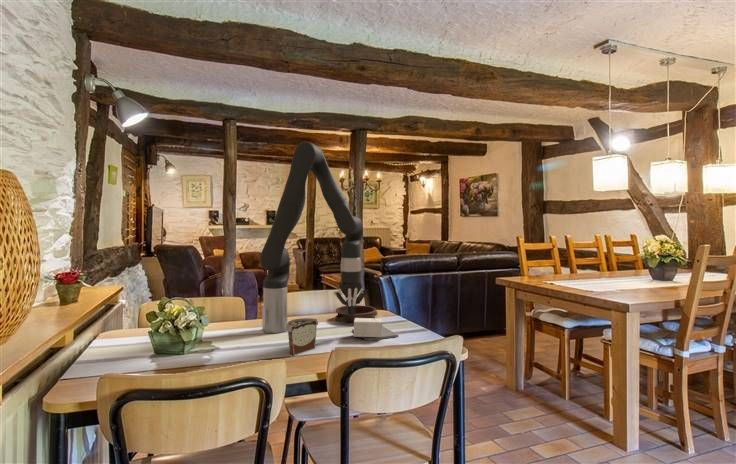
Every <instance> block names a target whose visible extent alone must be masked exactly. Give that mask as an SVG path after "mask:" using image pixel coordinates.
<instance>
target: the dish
mask: <svg viewBox="0 0 736 464" xmlns="http://www.w3.org/2000/svg"><path fill="white" fill-rule="evenodd" d="M335 312H336V314H337V315H335V317H334V321H335V322H339V323H340V322H341V323H342V322H344V323H350V324H354V320H355V318H374V317H375V316H378V311H377V308H376V307H374V306H371V305H370V306H369V305H361V304H360V305H359V304H357V305H355V314H354V316H348V314H347V306H346V305H343V306H340V307H337V308H336V309H335Z"/></svg>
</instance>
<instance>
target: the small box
mask: <svg viewBox="0 0 736 464" xmlns="http://www.w3.org/2000/svg"><path fill="white" fill-rule="evenodd" d="M382 326H383V319H382V318H377V317H376V318H374V317H373V318H355V320H354V323H353V329H354V332H353V337H354V338H355V337H357V338H358V337H359V338H362V337H382Z"/></svg>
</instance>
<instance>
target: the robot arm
mask: <svg viewBox="0 0 736 464" xmlns="http://www.w3.org/2000/svg"><path fill="white" fill-rule="evenodd" d="M310 171H311V173H312V174H313V175H314V177H315V178H316V180H317V182H318V184H319V187H320V190H321V194H322V196H323V199H324V200H325V202H326V204H327V206H328V207H329V209H330V211H331V212H332V214H333V218H334V221H335V223H336V225H337V227H338V229H339V231H340V232H341V233H342V234H344V235H345V237H344V241H343V243H342V244H341V261H340V285H339V289H337V290H335V291H334V292H333V294H334V295H335V297H336V298H337V299H338V300H339V302H340V303H341V304H342V305H343V306H347V314H348V316H354V314H355V305H359V304H360V303H362V301H363V299H364V298H365V296H366V295H367V293H368V290H366V289H364V288H363V285H362V284H361V283H362V262H361V261H362V260H361V243H362V239H363V231H364V227H363V226H364V225H363V222H362V220H361V218H359V217H358V216H355V215H353V214H352V213H351V209H350V203H349V201H348V200H347V198H346V196H345V194H344V193H343V191H342V189H341V188H340V186H339V185H338V182H336V180H335V177H334V176H333V173H332V172H331V169H330V167H329V164H328V162H327V159H326V157H325V155H324V152H323V150H322V148H321V147H319V145H317V144H314V143H312V142H310V141H301V142H299V144H298V145H296V147H295V149H294V151H293V156H292V159H291V163H290V169H289V173H288V177H287V180H286V182H285V185H284V189H283V192H282V195H281V197H280V200H279V203H278V207H277V210H276V214H275V216H274V219H273V223H272V225H271V229H270V231H269V235H268V237H267V239H266V242H265V243H264V246H263V247H262V250H261V253H260V257H259V262H260V266H261V267H262V268H263V269H264V270H265V271H267V274H266V276H265V278H264V279H263V283H262V285H263V288H262V289H263V299H262V300H263V301H262V302H263V305H262V306H261V307H262V312H261V313H262V317H261V318H262V321H261V323H262V325H261V326H262V328H261V330H262V331H263V332H264V333H265V334H280V333H284V332H288V331H287V330H286V326H287V324H288V282H289V280H290V267H291V265H290V264H291V260H290V259H291V256H290V254H289V251H288V249H287V248H286V247H285V246H286V243H287V241H288V238H289V236H290V234H291V233H292V232H293V230H294V229H295V227H296V225H298V223H299V221H300V220H301V219H300V218H301V216H302V213H303V210H304V208H305V204H306V184H307V178H308V176H309V172H310ZM342 295H344V297H345V298H344V297H343V296H342ZM360 305H361V304H360Z"/></svg>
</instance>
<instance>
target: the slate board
mask: <svg viewBox="0 0 736 464" xmlns="http://www.w3.org/2000/svg"><path fill="white" fill-rule="evenodd" d="M352 332H353V333H354V328H352ZM398 337H399V334H397V333H395V332H394V331H392V330H390V329H388V328H386V327H385V326H383V325H382V337H361V338H362V339H363V340H365V341H367V342H368V341H369V342H370V341H377V340H383V339H393V338H398Z"/></svg>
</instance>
